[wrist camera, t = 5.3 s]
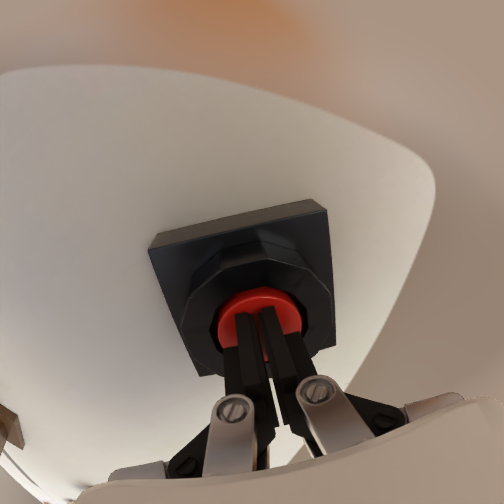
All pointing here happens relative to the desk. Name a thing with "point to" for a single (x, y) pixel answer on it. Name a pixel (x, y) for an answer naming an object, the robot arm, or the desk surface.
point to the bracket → (10, 429)
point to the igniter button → (252, 304)
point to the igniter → (247, 273)
